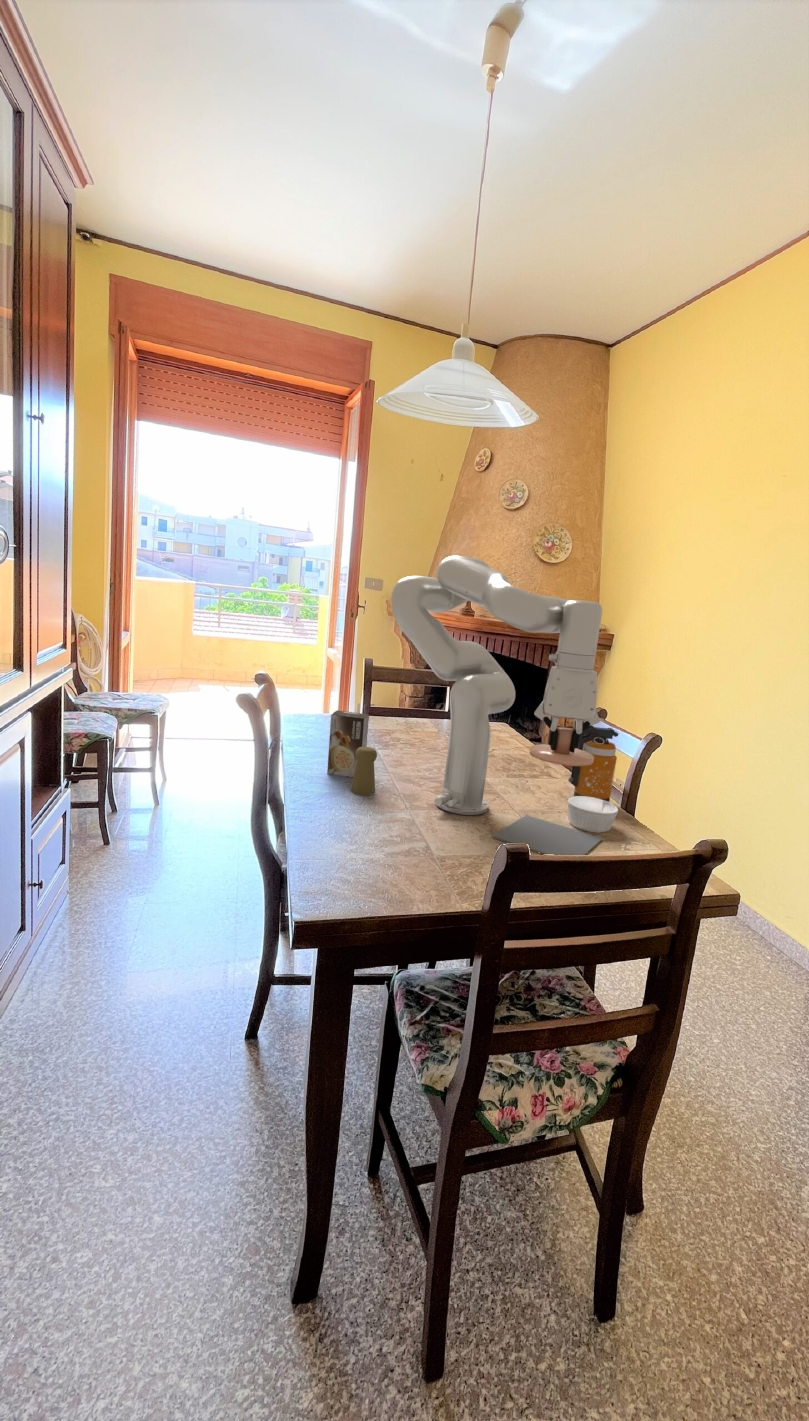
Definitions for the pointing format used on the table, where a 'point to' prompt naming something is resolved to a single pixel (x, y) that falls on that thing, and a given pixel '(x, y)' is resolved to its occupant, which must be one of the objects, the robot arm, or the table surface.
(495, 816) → the table surface
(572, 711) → the robot arm
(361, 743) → the coffee box
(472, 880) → the table surface
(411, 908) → the table surface
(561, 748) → the lid
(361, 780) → the cork
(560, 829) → the mat
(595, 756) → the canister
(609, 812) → the ramekin
